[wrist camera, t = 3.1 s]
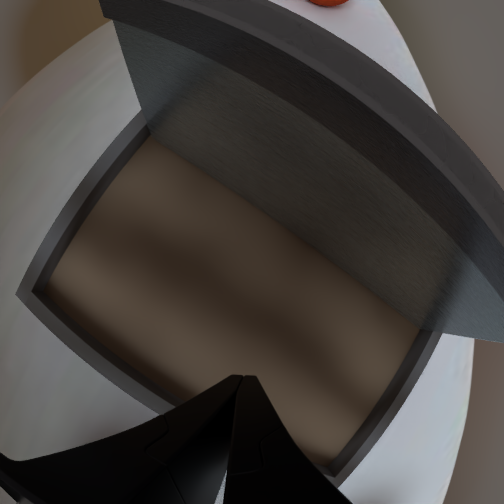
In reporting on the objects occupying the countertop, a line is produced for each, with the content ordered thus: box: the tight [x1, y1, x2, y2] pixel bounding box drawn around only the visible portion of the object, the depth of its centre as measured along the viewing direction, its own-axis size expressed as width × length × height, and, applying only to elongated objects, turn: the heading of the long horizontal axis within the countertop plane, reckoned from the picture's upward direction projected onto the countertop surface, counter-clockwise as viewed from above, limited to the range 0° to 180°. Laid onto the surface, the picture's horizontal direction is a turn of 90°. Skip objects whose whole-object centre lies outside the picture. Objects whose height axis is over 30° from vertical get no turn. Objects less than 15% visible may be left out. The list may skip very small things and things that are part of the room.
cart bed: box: [15, 110, 442, 488], centre depth 17 cm, size 14×25×4 cm, turn 56°
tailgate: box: [99, 0, 504, 343], centre depth 11 cm, size 2×22×12 cm, turn 56°
